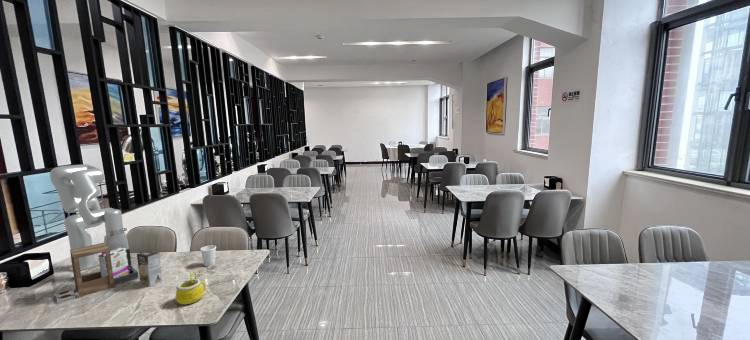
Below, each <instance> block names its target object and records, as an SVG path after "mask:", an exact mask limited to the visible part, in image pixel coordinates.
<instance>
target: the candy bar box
mask: <svg viewBox="0 0 750 340" xmlns="http://www.w3.org/2000/svg"><path fill="white" fill-rule="evenodd" d="M110 256H111V263H112V271H113V278H117V277H121V276H124V275H128V274H130V272H129V265H128V258H127V251H126V248H117V249H115V250H112V251H110ZM97 258H98V264H99V269H100V272H101V276H102V278H103V277H107V276H108V269H107V262H106V254H105V253H104V254H102V253H101V254H99V255H98V257H97Z"/></svg>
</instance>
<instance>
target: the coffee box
mask: <svg viewBox="0 0 750 340" xmlns="http://www.w3.org/2000/svg"><path fill="white" fill-rule="evenodd" d="M136 258H137V265H138V267H137V268H138V277H139V284H142V285H144V286H147V287H152V286H155V285H157V284H160V283H162V282H163V275H162V273H163V272H162V265H161V255H160V252H159V251H157V250H151V249H148V250H145V251H141V252H139V253H136Z"/></svg>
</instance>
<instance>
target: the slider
mask: <svg viewBox="0 0 750 340" xmlns="http://www.w3.org/2000/svg"><path fill="white" fill-rule="evenodd" d="M126 251H127V258H128V265H129V272H130V274H128V275H124V276H121V277H117V278H114V286H115V285H117V284H122V283H125V282H128V281H131V280H134V279H138V278H139V279H140V277H139V271H138V270H136V268H134V267H133V266H132V259H131V251H130V248H128V250H126ZM100 278H102V277H100ZM96 279H99V278H96Z"/></svg>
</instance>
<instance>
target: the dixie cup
mask: <svg viewBox="0 0 750 340" xmlns="http://www.w3.org/2000/svg"><path fill="white" fill-rule="evenodd" d="M199 250H200V253H201V257H202V261H203V264H204V265H205V267H211V266H210V265H212V266H214V265H215V264H216V258H217V257H216V255H217V254H216V252H217V246H216V245H206V246H202V247H200V249H199ZM213 264H214V265H213ZM204 265H203V266H204Z"/></svg>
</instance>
